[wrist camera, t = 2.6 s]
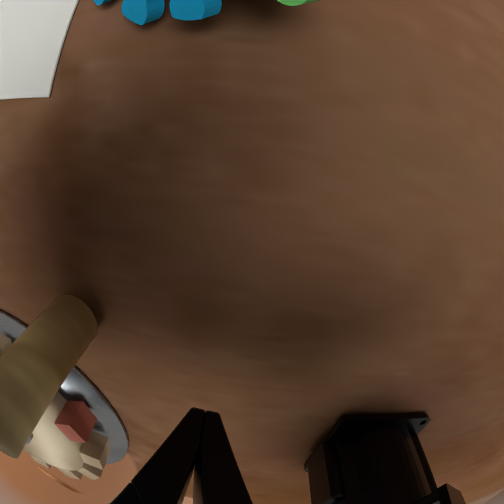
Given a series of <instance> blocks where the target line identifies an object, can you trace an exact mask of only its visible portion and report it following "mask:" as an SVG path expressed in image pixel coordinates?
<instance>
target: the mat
mask: <svg viewBox="0 0 504 504" xmlns="http://www.w3.org/2000/svg"><path fill="white" fill-rule="evenodd" d="M78 2H79V0H0V99H14V98H35V97H50V94H51V89H52V84H53V80H54V76H55V72H56V68H57V64H58V60H59V57H60V53H61V50H62V47H63V43H64V40H65V37H66V34H67V31H68V28H69V25H70V22H71V20H72V17H73V14H74V12H75V9H76V7H77V4H78Z"/></svg>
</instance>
